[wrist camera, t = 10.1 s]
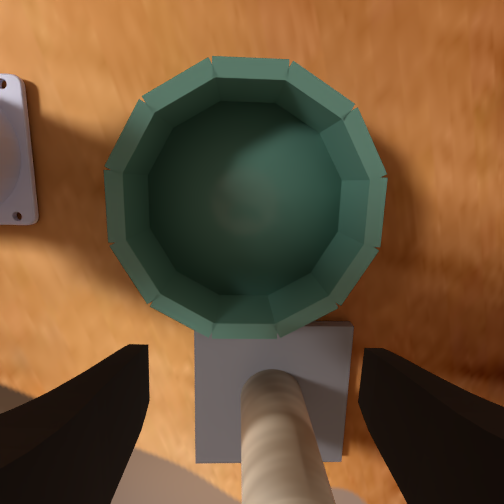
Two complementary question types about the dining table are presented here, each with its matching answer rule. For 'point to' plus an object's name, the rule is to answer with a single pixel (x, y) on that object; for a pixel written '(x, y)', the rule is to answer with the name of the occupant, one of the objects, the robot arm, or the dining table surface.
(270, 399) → the birch dowel
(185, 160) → the green pot
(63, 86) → the dining table surface
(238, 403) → the charcoal coaster
